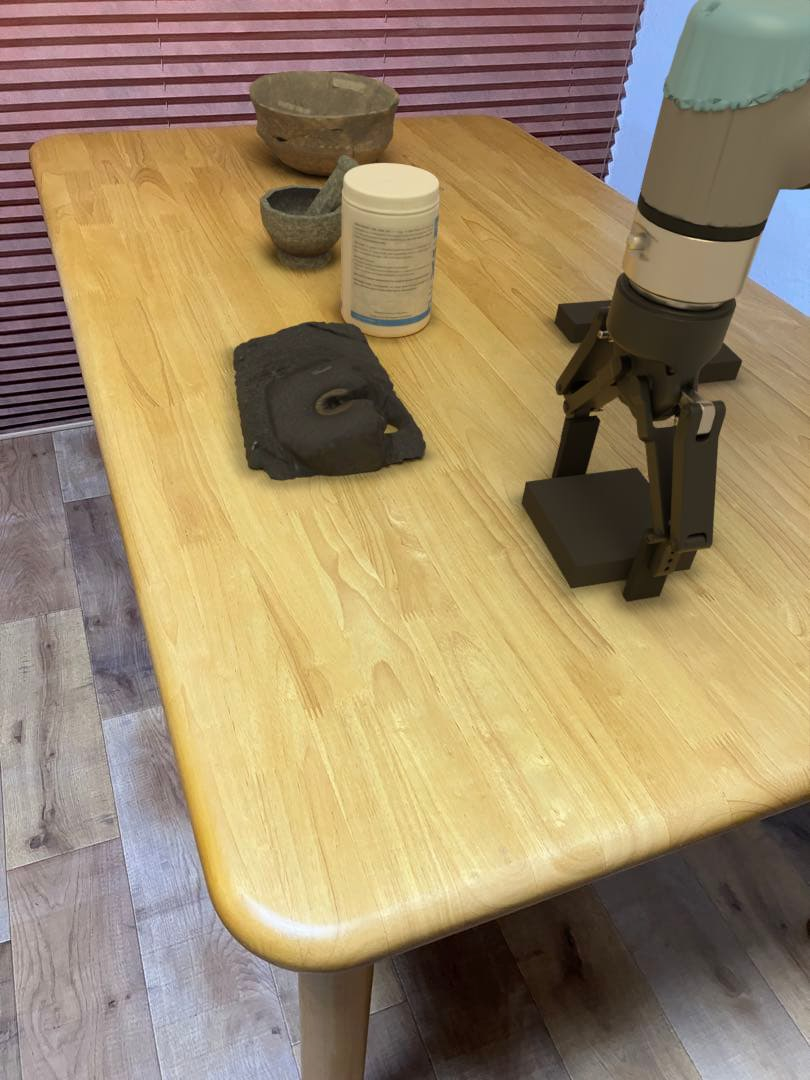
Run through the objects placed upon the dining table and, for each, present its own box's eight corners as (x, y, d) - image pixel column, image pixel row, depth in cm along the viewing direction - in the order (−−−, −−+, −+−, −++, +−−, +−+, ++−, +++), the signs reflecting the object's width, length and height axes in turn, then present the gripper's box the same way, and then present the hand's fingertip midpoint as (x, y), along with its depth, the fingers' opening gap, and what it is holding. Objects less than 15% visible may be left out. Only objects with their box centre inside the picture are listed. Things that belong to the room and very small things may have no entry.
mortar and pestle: (258, 275, 98) (253, 166, 90) (265, 240, 105) (261, 136, 97) (358, 280, 99) (362, 172, 91) (358, 245, 106) (361, 142, 98)
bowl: (222, 157, 125) (217, 80, 118) (333, 133, 136) (334, 62, 129) (312, 204, 114) (312, 124, 107) (425, 174, 125) (431, 100, 119)
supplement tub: (447, 328, 92) (463, 188, 82) (372, 350, 88) (379, 205, 78) (395, 290, 98) (404, 155, 88) (322, 309, 93) (323, 169, 84)
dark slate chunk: (377, 340, 89) (380, 297, 86) (432, 471, 74) (437, 424, 71) (226, 349, 86) (222, 305, 83) (249, 488, 70) (246, 440, 67)
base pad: (667, 315, 98) (674, 295, 96) (734, 381, 88) (743, 360, 87) (553, 324, 95) (558, 303, 93) (610, 395, 85) (616, 372, 83)
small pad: (661, 486, 74) (669, 463, 73) (723, 565, 67) (733, 542, 66) (520, 505, 71) (525, 481, 70) (570, 591, 64) (577, 566, 63)
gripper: (546, 207, 62) (501, 448, 76) (733, 397, 45) (630, 663, 59) (639, 203, 64) (579, 439, 78) (853, 384, 47) (725, 645, 61)
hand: (601, 536), depth 69 cm, fingers open, 13 cm apart
